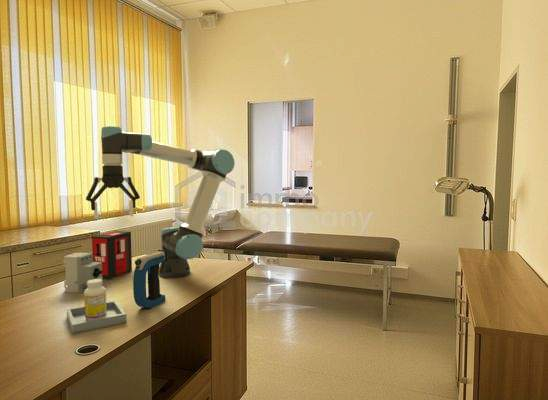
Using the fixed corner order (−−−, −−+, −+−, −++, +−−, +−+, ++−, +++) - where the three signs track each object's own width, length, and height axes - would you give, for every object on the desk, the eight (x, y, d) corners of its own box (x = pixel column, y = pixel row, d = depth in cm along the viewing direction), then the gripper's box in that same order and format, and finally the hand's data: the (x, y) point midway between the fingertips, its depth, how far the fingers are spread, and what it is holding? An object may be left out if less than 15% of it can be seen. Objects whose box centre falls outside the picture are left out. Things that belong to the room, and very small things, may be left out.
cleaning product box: (109, 279, 175) (108, 237, 173) (93, 278, 177) (92, 236, 175) (131, 270, 190) (130, 231, 189) (117, 269, 193) (115, 231, 191)
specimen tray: (116, 308, 139) (115, 300, 139) (126, 322, 126) (126, 313, 125) (66, 317, 130) (66, 309, 130) (72, 334, 117) (72, 325, 116)
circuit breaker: (94, 293, 155) (93, 258, 154) (64, 291, 158) (63, 256, 157) (106, 288, 162) (104, 254, 161) (77, 286, 165) (75, 252, 164)
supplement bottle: (89, 314, 131) (88, 278, 130) (109, 313, 131) (108, 277, 130) (81, 322, 124) (80, 284, 123) (102, 321, 125) (101, 283, 124)
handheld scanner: (170, 298, 149) (168, 249, 148) (143, 313, 134) (141, 258, 132) (160, 297, 150) (158, 249, 149) (133, 311, 135) (130, 258, 134)
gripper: (141, 165, 162) (142, 214, 163) (76, 164, 148) (78, 218, 149) (146, 165, 156) (147, 216, 157) (79, 164, 142) (81, 220, 143)
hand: (114, 217), depth 153 cm, fingers open, 13 cm apart
